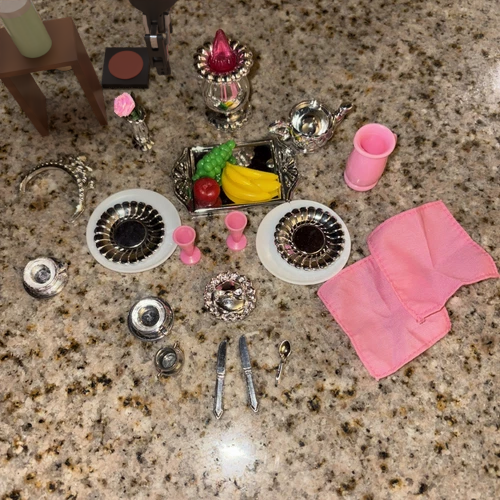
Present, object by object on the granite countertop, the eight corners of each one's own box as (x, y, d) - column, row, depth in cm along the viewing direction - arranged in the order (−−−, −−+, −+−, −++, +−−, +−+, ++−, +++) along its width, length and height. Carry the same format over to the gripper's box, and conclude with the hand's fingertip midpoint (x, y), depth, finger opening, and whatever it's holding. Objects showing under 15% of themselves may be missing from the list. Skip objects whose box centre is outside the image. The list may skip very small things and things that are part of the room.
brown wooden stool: (41, 137, 104) (-4, 74, 85) (38, 98, 107) (-7, 29, 88) (107, 124, 105) (77, 59, 86) (102, 87, 108) (71, 16, 89)
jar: (14, 58, 86) (-15, 12, 77) (19, 30, 88) (-8, -18, 79) (50, 58, 86) (25, 12, 77) (54, 30, 88) (30, -18, 79)
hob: (103, 88, 108) (100, 83, 106) (107, 51, 111) (105, 46, 110) (148, 88, 108) (146, 83, 107) (151, 51, 111) (149, 46, 110)
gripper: (123, -73, 68) (144, 19, 83) (116, 6, 63) (140, 88, 78) (177, -73, 68) (189, 19, 83) (174, 6, 63) (187, 88, 79)
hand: (165, 52), depth 81 cm, fingers open, 8 cm apart
